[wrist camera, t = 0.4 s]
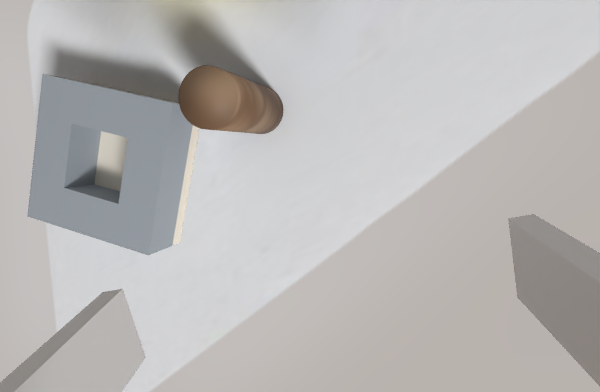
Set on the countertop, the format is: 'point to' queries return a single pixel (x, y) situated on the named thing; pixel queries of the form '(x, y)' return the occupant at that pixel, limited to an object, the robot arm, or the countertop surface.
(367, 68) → the countertop surface
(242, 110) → the pin
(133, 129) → the socket block
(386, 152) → the countertop surface
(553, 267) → the robot arm
